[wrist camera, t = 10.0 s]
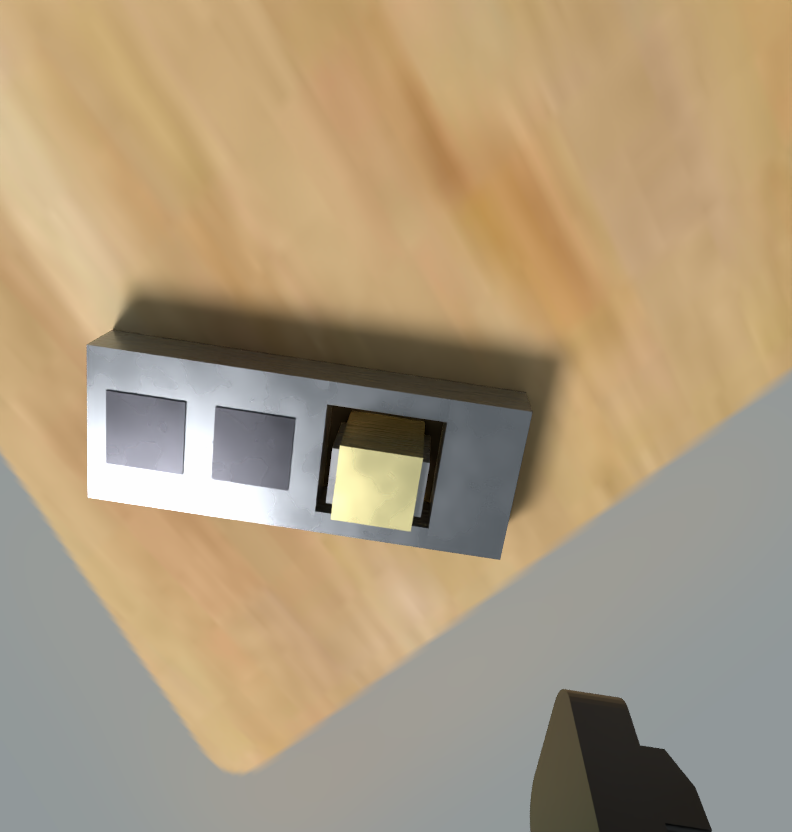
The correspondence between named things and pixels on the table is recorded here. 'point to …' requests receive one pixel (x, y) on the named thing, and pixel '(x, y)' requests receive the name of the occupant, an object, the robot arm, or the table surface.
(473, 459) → the silver slotted board
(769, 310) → the table surface
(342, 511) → the brushed gold cube
